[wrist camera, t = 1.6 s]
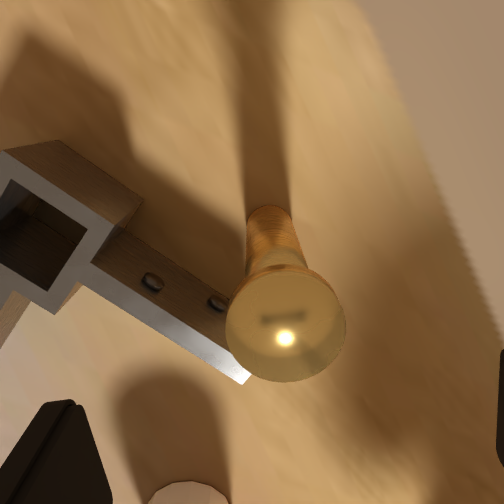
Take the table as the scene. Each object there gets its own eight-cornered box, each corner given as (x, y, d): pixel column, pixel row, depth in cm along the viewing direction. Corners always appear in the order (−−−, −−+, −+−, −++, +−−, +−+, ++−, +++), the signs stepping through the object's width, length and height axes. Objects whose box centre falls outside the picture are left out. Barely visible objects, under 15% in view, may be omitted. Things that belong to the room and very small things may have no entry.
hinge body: (276, 291, 28) (282, 337, 23) (144, 450, 32) (121, 524, 27) (57, 139, 25) (2, 150, 20) (-58, 336, 29) (-133, 392, 24)
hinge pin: (315, 221, 27) (370, 319, 14) (275, 270, 28) (295, 402, 15) (263, 181, 26) (274, 251, 14) (223, 234, 27) (201, 341, 15)
